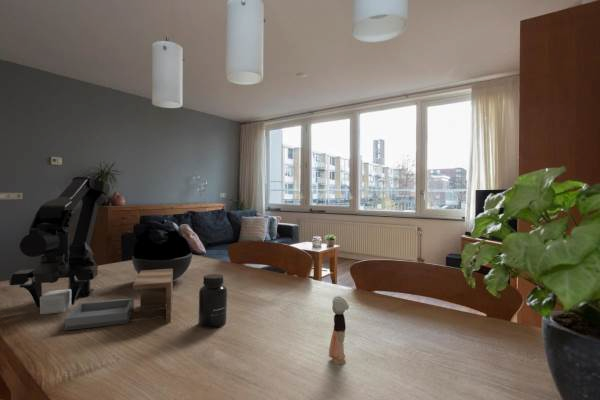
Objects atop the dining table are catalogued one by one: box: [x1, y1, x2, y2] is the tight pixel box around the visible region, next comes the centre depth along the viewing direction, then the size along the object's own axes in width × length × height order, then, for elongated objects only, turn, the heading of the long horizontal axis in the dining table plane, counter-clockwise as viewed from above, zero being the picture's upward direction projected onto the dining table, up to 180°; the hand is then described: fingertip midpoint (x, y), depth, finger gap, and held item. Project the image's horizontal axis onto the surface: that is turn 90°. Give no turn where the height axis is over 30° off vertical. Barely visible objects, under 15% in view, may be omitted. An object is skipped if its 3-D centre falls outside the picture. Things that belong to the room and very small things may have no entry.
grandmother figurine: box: [328, 295, 350, 365], centre depth 63 cm, size 8×4×13 cm, turn 5°
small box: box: [39, 288, 72, 315], centre depth 88 cm, size 6×6×5 cm
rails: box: [61, 306, 166, 330], centre depth 83 cm, size 8×23×1 cm, turn 110°
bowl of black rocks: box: [131, 229, 193, 281], centre depth 115 cm, size 20×20×19 cm
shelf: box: [132, 269, 174, 324], centre depth 86 cm, size 15×8×10 cm, turn 20°
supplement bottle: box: [198, 273, 228, 329], centre depth 80 cm, size 7×7×12 cm
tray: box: [64, 297, 135, 331], centre depth 82 cm, size 11×13×3 cm
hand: (56, 305), depth 88 cm, fingers open, 7 cm apart
